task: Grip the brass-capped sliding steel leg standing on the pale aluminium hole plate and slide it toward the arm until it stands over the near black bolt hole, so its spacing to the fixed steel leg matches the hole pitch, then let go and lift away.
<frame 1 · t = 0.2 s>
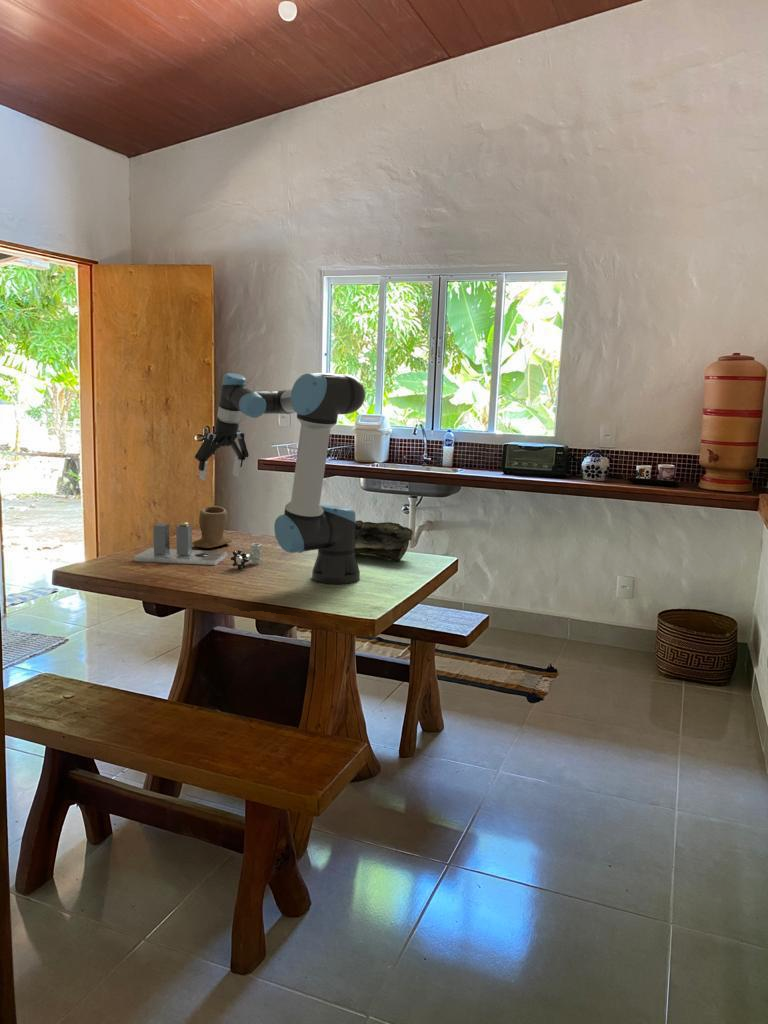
hand: (219, 477, 263), 28 cm above the table, tool tilted 15°, fingers open, 13 cm apart
rock: (376, 559, 269), on the table
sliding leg: (184, 538, 259), point 7 cm above the table, slide at 6.0 cm
hole plate: (181, 558, 261), on the table
stone cup: (214, 547, 281), on the table
valve: (249, 566, 254), on the table
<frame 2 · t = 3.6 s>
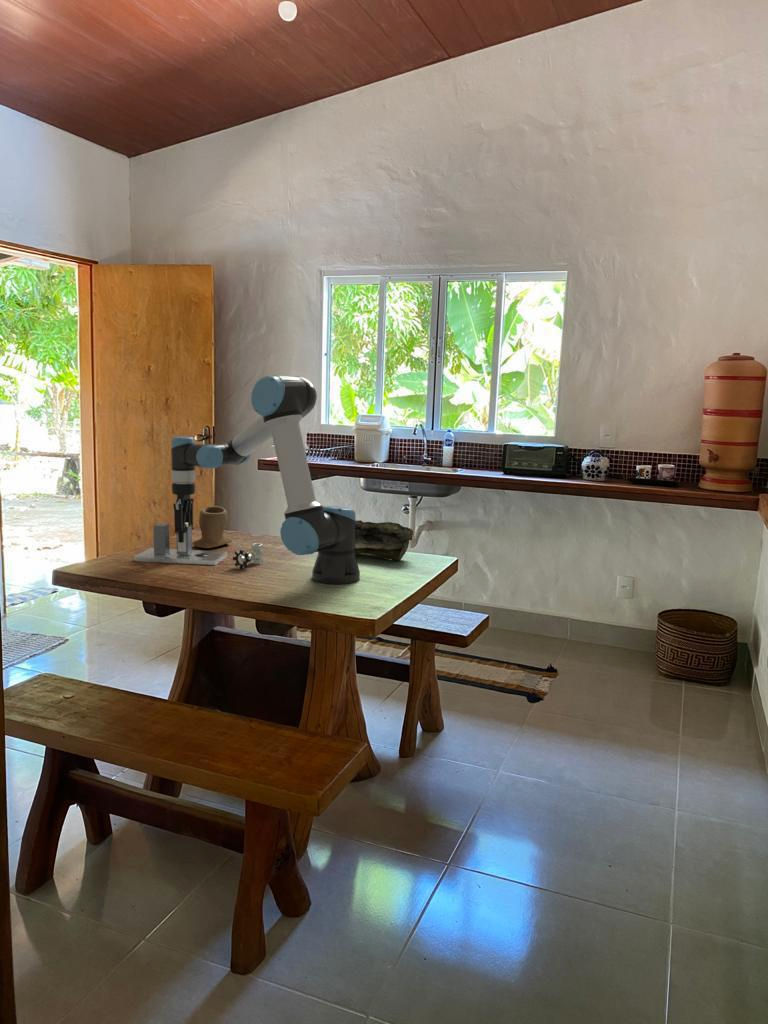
hand: (184, 549, 260), 3 cm above the table, tool pointing down, fingers closed on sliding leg, 4 cm apart
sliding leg: (184, 538, 259), point 7 cm above the table, slide at 6.0 cm, touching gripper
everything else where it was.
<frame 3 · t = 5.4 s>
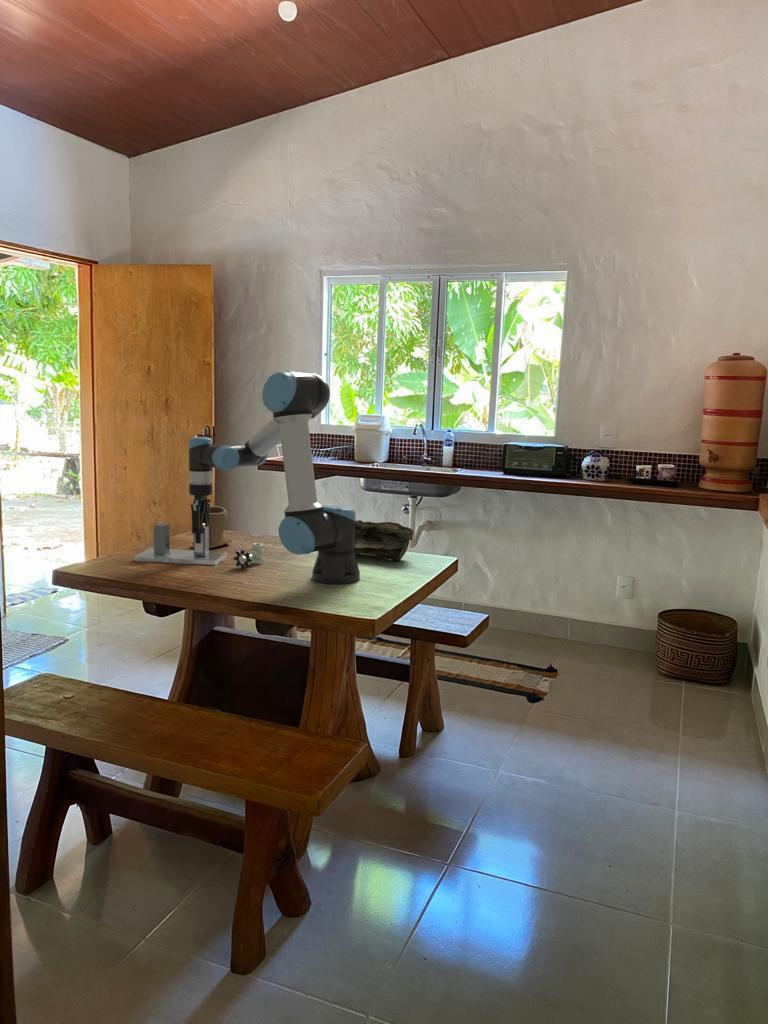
hand: (201, 550, 260), 3 cm above the table, tool pointing down, fingers closed on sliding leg, 4 cm apart
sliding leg: (201, 539, 259), point 7 cm above the table, slide at 0.1 cm, touching gripper
everything else where it was.
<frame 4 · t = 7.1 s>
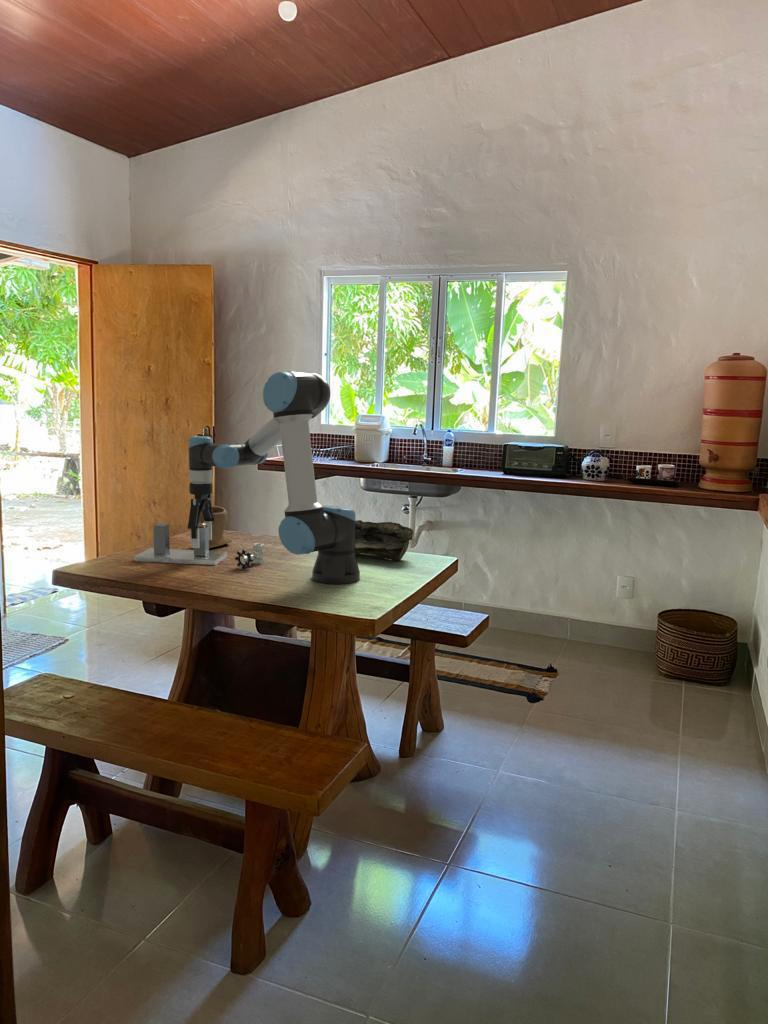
hand: (201, 543, 259), 6 cm above the table, tool pointing down, fingers open, 13 cm apart
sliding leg: (201, 539, 259), point 7 cm above the table, slide at 0.0 cm
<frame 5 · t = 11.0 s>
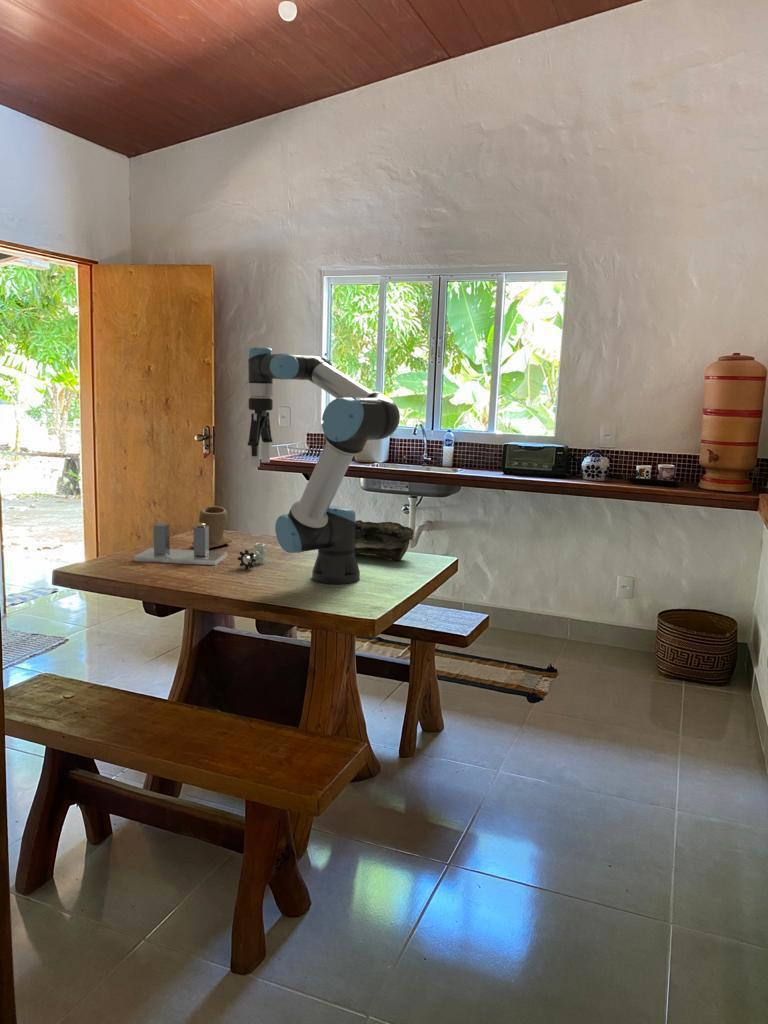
hand: (260, 464, 243), 35 cm above the table, tool pointing down, fingers open, 13 cm apart
at the end: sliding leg slide at 0.0 cm; the gripper is holding nothing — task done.
